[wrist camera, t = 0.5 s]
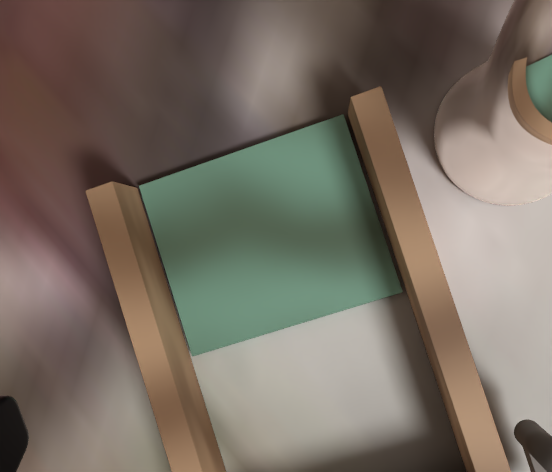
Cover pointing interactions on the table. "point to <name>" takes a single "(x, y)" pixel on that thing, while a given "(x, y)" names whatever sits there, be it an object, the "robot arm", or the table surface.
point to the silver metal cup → (503, 115)
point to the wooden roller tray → (286, 271)
